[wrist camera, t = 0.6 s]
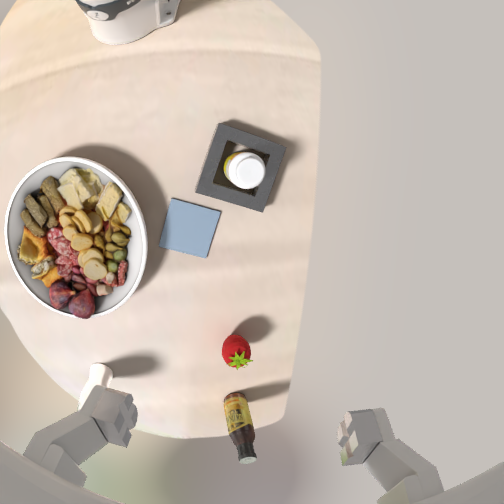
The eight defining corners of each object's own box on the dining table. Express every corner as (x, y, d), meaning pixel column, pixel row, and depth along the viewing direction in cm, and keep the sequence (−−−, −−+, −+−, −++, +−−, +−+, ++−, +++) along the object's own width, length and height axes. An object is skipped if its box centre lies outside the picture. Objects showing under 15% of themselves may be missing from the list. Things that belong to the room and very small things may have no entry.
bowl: (6, 174, 37) (-16, 180, 30) (140, 141, 43) (131, 140, 35) (39, 309, 48) (26, 329, 41) (162, 298, 54) (160, 320, 46)
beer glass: (120, 374, 58) (112, 422, 44) (103, 384, 58) (95, 430, 44) (99, 357, 55) (86, 405, 41) (83, 368, 55) (69, 414, 41)
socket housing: (217, 124, 44) (219, 122, 41) (280, 147, 48) (286, 147, 45) (194, 189, 47) (195, 192, 45) (258, 208, 51) (262, 212, 48)
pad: (171, 198, 47) (171, 198, 47) (220, 211, 50) (220, 212, 49) (158, 245, 49) (158, 246, 49) (205, 257, 52) (205, 258, 52)
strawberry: (244, 320, 59) (255, 350, 50) (246, 347, 62) (256, 377, 53) (216, 324, 58) (223, 355, 49) (220, 351, 61) (227, 382, 52)
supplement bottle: (257, 155, 48) (274, 157, 38) (249, 185, 49) (264, 195, 40) (226, 148, 46) (236, 148, 37) (219, 179, 48) (227, 187, 38)
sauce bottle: (234, 388, 66) (251, 451, 48) (250, 396, 69) (269, 456, 51) (217, 400, 67) (229, 462, 49) (233, 408, 69) (248, 467, 51)
